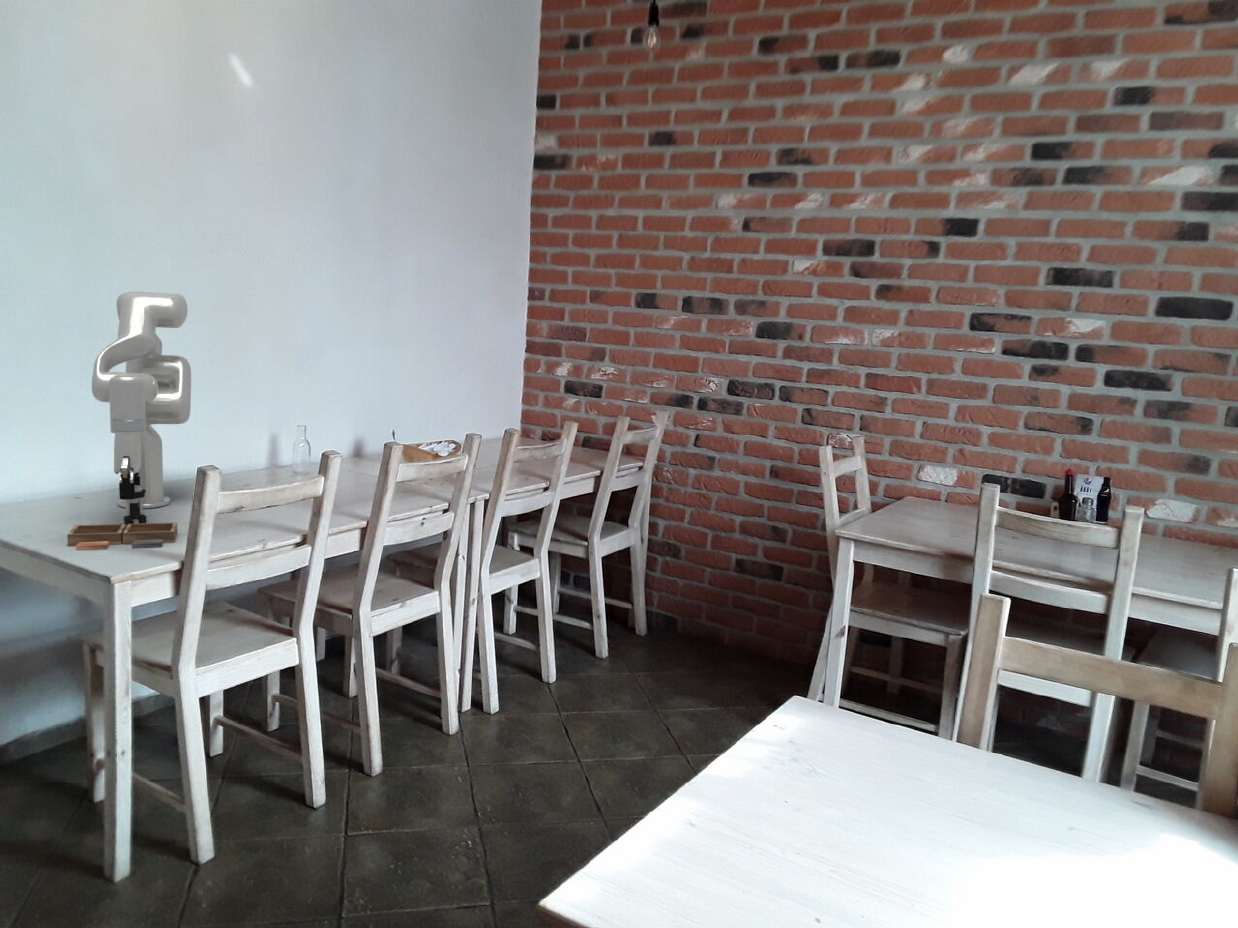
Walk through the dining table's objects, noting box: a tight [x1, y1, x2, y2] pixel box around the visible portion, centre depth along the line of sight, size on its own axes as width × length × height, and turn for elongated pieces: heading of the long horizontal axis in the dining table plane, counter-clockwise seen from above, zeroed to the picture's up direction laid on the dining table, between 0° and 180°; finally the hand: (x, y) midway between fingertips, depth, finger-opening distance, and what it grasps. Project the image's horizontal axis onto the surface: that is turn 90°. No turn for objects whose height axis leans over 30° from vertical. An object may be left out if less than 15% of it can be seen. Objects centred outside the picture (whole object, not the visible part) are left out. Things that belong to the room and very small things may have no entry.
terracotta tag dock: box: [66, 523, 126, 551], centre depth 202 cm, size 12×11×3 cm
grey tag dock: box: [122, 522, 178, 549], centre depth 206 cm, size 12×11×3 cm
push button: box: [116, 485, 148, 526], centre depth 216 cm, size 7×5×10 cm
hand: (130, 495), depth 215 cm, fingers open, 9 cm apart
